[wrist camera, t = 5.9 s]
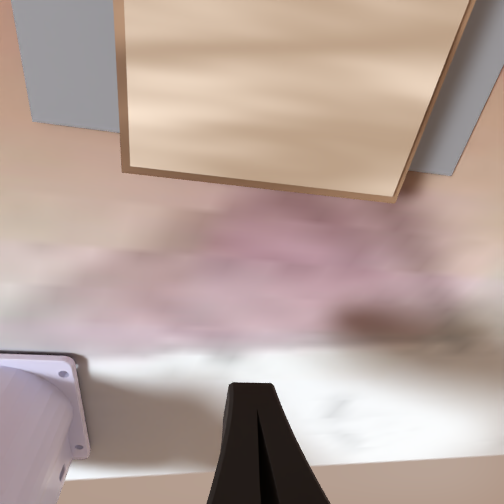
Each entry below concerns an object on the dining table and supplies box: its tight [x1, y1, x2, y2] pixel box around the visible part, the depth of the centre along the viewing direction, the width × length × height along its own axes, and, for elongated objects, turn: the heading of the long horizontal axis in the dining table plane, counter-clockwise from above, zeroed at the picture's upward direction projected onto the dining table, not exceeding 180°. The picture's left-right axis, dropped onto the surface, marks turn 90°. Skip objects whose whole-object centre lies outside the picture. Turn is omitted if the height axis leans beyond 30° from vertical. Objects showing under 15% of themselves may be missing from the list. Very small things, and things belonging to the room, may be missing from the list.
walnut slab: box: [113, 0, 476, 203], centre depth 10 cm, size 3×9×8 cm
